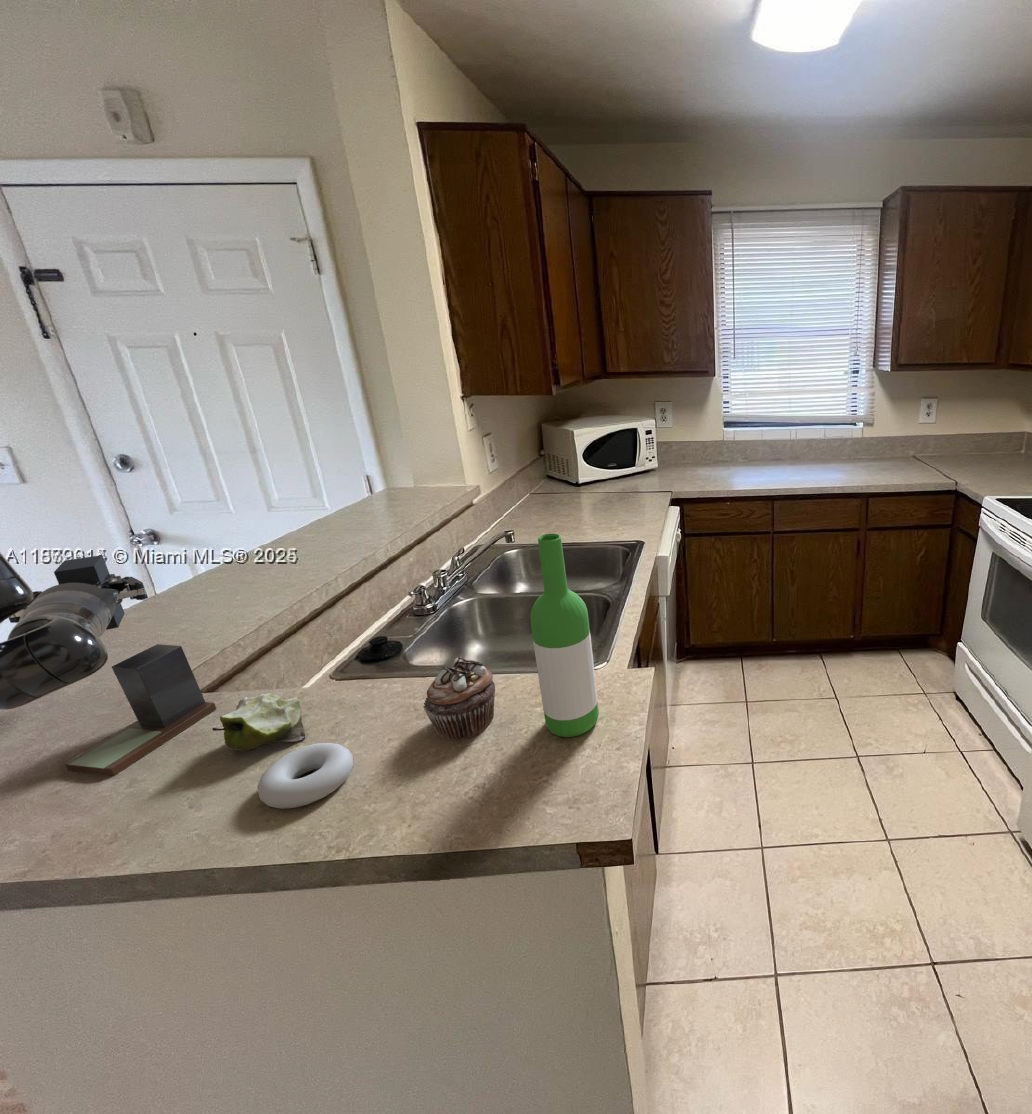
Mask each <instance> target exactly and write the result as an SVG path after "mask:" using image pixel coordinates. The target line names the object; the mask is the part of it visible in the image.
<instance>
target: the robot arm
mask: <svg viewBox="0 0 1032 1114" xmlns="http://www.w3.org/2000/svg"><path fill="white" fill-rule="evenodd" d="M128 598H129V599H130V600H136V601H143V600H146V599H149V596H148V593H147V591H146V587H145V585H144V582H143V581H141V580H139V579H138V578H136V577H134V576H124V577H121V575H116V574H115V573H109V575H107V577H106V578H105V580H104V581H98V582H95V583H93V584H91V585H90V584H85V583H64V584H56V585H53V586H50V587H48V588H46V589H45V590H39V591H38V590H36V591H35V590H34V591H33V590H32V588H31V587H30V586H29V584H28V583H27V582H26V581H25V580H24V578H23V577H22V576H21V575H20V574H19V573H18V571H17V570H16V569H15V568H14V567H13V566H12V564H11V563H10V561H9V560H8V559H7V558H6V557H5V556H4V555H3V553H1V551H0V625H1V624H2V623H3V622H4V621H6V620H7V619H8V621H9V622H10V623H11V624H14V623H15V625H14V626H13V627H12V629H11V630H10V632H9V634H8V636H7V639H6V640H4V641H2V642H0V711H3V710H4V711H8V710H12V709H13V710H14V709H16V708H20V707H22V706H25V705H28V704H30V703H32V702H35V701H36V700H39V699H41V698H43V697H45V696H48V695H50V694H52V693H55V692H57V691H59V690H62V689H63V688H66V687H68V686H70V685H73V684H74V683H77V682H80V681H82V680H84V679H86V678H88V677H90V676H92V675H94V674H95V673H97V672H98V671H99V670H101V669H102V668H103V667H104V666H105V665H106V663H107V661H108V657H109V652H108V650H107V648H106V645H105V644H104V642H103V641H102V639H100V638H101V637H102V636H103V635H104V634H105V632H106V631H107V630H106V628H107V626H108V624H109V623H110V621H111V619H112V617H113V615H114V612H115V606H116V605H118V604H120V603H121V604H122V603H123V600H124V599H128Z"/></svg>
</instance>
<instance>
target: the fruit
mask: <svg viewBox="0 0 1032 1114" xmlns="http://www.w3.org/2000/svg"><path fill="white" fill-rule="evenodd" d="M219 721H220V722H221V724H222V728H218V727H212V730H211V731H214V732H216V731H217V732H219V731H220V732H221V731H223V739H224V740H223V741H224V744H225V746H226V747H227V748H228V749H231V750H234V751H235V750H236V751H243V752H244V751H245V752H246V751H256V750H257V747H258V746H261V745H265V744H270V743H271V744H272V743H276V742H300V741H303V740H305V739H306V733H305V729H304V725H303V720H302V707H301V703H300V700H299V699H298V698H296V697H293V698H292V697H291V698H288V699H283V698H281V697H280V696H279V694H274V693H271V692H268V693H260V694H258V695H257V696H252V697H243V698H241V699H239V700H238V704H237V706H236V709H235V710H234V711H231V712H228V713H226V714H223V715H221V716H219Z"/></svg>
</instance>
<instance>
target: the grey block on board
mask: <svg viewBox="0 0 1032 1114" xmlns="http://www.w3.org/2000/svg"><path fill="white" fill-rule="evenodd" d="M111 669H112V671H113V673H114V676H115V677H116V680H117V681H118V683H119V685H120V687H121V689H122V691H123V693H124V696H125V698H126V700H127V702H128V703H129V705H130V708H131V710H132V711H133V713H134V715H135V718H136V719H137V720H136V721H134V722H132V723H131V724H129V725H128V726H127V725H126V727H124V728H122V729H121V730H119V731H117V732H116V733H114V734H112V735H111V736H109V737H107V738H106V739H104V740H102V741H100V742H98V743H97V744H95V745H93V746H92V747H90V748H89V749H87V750H85V751H83V752H82V753H80V754H78V755H76V756H75V757H73V758H72V759H70V760H68V761H67V762H65V763H64V766H65V768H66V769H67V771H68V772H77V773H84V774H85V773H87V774H96V775H106V776H116V775H118V774H119V773H121V772H122V771H123V770H125V769H127V768H129V767H130V766H131V765H133V764H135V763H136V762H138V761H139V760H141V759H142V758H144V757H145V756H147V755H148V754H150V753H151V752H153V751H155V750H156V749H157V748H159V747H160V746H162V745H163V744H166V743H167V742H168V741H170V740H171V739H174V737H176V736H177V735H179V734H180V733H183V732H184V731H185V730H187V729H188V728H190V727H191V726H193V725H194V724H196V723H198V722H199V721H201V720H202V719H204V718H206V717H207V716H208V715H210V714H211V713H212V712H214V711H216V710H217V706H216V704H215V702H210V701H206V700H205V698H204V696H203V693H202V691H201V688H200V687H199V683H198V681H197V679H196V677H195V674H194V672H193V670H192V668H191V665H190V663H189V661H188V658H187V656H186V654H185V651H184V649H183V647H182V646H181V645H173V644H161V643H156V644H154V645H152V646H151V647H148V648H146V649H144V650H143V651H140V652H139V653H136V654H134V655H132V656H130V657H128V658H126V659H124V660H122V661H120V662H118V663H116V664H114V665H112V666H111Z"/></svg>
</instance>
